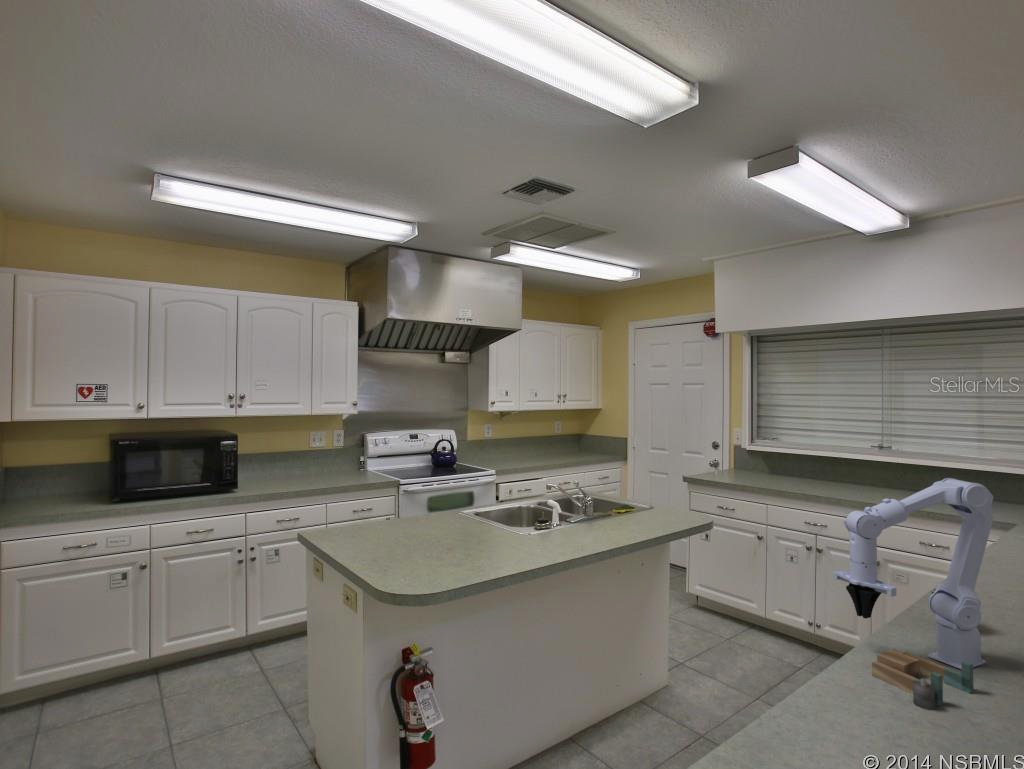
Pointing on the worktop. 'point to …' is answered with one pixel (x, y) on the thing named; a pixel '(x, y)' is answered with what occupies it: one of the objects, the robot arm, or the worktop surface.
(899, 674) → the bay
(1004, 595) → the worktop surface
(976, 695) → the worktop surface
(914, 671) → the brown wooden block
